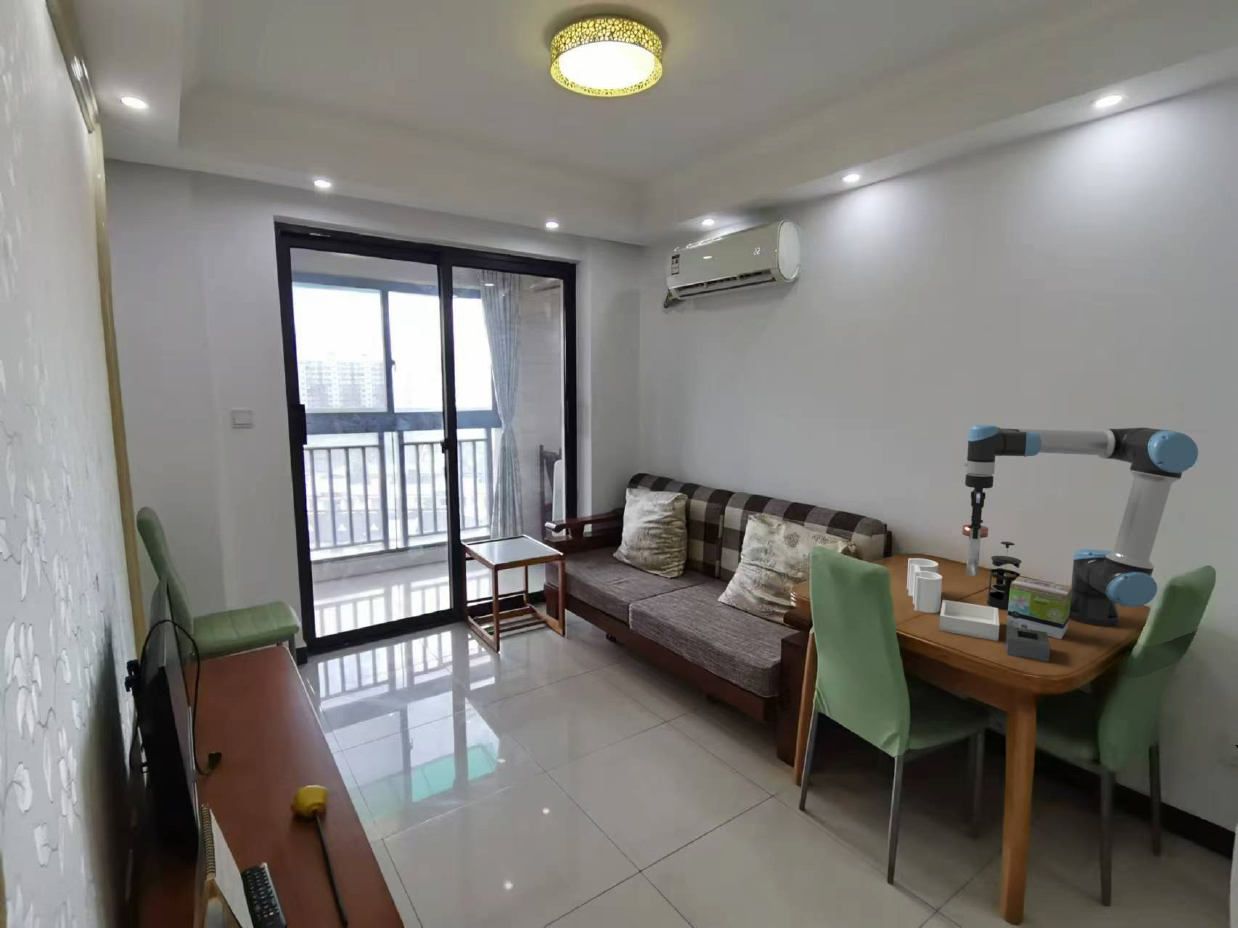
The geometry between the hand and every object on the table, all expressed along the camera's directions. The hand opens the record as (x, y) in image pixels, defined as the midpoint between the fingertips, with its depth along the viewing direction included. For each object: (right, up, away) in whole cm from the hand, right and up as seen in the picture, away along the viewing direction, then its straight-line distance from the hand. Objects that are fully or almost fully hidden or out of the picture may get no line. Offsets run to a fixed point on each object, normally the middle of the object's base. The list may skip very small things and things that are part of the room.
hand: (974, 545), depth 191 cm
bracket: (-2, -24, +27) cm, 36 cm away
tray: (0, -27, +4) cm, 27 cm away
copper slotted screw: (0, -9, +1) cm, 10 cm away
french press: (+23, -24, +22) cm, 40 cm away
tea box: (+21, -27, +2) cm, 35 cm away
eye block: (+7, -29, -14) cm, 33 cm away
